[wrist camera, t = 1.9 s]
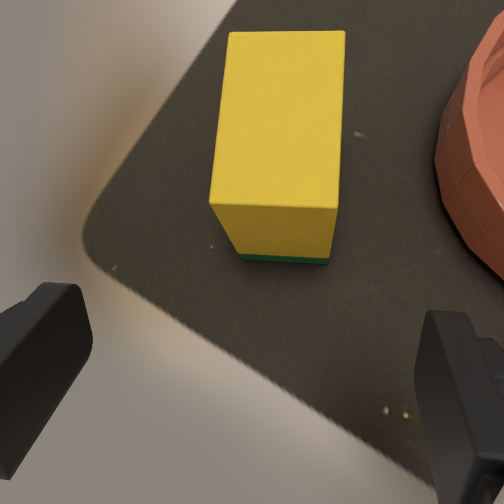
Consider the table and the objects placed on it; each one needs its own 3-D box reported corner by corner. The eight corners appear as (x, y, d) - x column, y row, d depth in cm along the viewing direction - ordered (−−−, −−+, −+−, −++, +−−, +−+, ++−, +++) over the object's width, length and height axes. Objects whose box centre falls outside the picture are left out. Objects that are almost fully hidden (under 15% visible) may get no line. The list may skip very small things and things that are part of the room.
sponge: (240, 259, 23) (207, 203, 16) (252, 136, 25) (228, 31, 18) (328, 264, 23) (338, 208, 15) (334, 137, 25) (345, 29, 17)
